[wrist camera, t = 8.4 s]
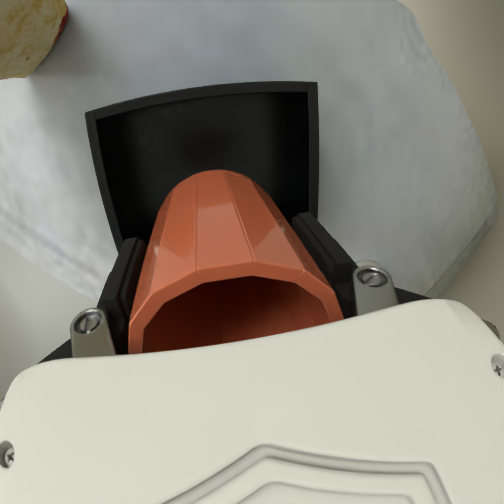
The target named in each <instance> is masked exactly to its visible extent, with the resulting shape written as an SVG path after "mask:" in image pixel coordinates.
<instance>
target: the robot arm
mask: <svg viewBox="0 0 504 504" xmlns="http://www.w3.org/2000/svg"><path fill="white" fill-rule="evenodd" d="M292 229H293V230H294V232H295V233H296V235H297V236H298V238H299V239H300V240H301V242H302V243H303V245H304V246H305V248H306V249H307V251H308V252H309V254H310V255H311V257H312V258H313V260H314V261H315V263H316V264H317V266H318V267H319V269H320V270H321V272H322V273H323V275H324V276H325V278H326V279H327V281H328V282H329V284H330V286H331V287H332V289H333V290H334V292H335V294H336V297H337V300H338V302H339V305H340V308H341V311H342V313H343V316H344V319H343V320H339V321H335V322H331V323H327V324H323V325H318V326H314V327H309V328H305V329H300V330H296V331H291V332H286V333H281V334H276V335H271V336H266V337H261V338H255V339H249V340H244V341H238V342H231V343H225V344H218V345H211V346H204V347H197V348H189V349H180V350H171V351H161V352H151V353H140V354H129V353H128V333H129V321H130V317H131V312H132V307H133V303H134V299H135V294H136V290H137V286H138V282H139V278H140V274H141V270H142V266H143V263H144V259H145V255H146V252H147V249H146V245H145V242H144V240H140V239H139V237H135V238H129V239H125V241H124V243H123V246H122V248H121V250H120V252H119V255H118V257H117V260H116V262H115V264H114V267H113V269H112V272H110V274H109V276H108V278H107V281H106V283H105V286H104V289H103V291H102V294H101V297H100V299H99V302H98V305H97V308H90V309H86V310H84V311H82V312H80V313H79V314H78V315H77V316H76V317H75V318H74V319H73V321H72V323H71V326H70V334H71V338H70V339H69V340H68V341H66V342H65V343H64V344H62V345H61V346H60V347H58V348H57V349H56V350H55V351H53V352H52V353H51V354H50V355H48V356H47V357H45V358H44V359H43V360H42V361H40V362H39V363H38V364H37V365H34V366H32V367H29V368H28V369H26V370H24V371H22V372H21V373H20V374H18V375H17V376H16V378H15V379H14V380H13V382H12V384H11V386H10V387H9V390H8V392H7V394H6V396H5V397H4V398H3V399H2V400H0V504H504V345H503V344H502V343H501V341H500V335H499V331H498V329H497V328H496V326H494V325H493V324H492V323H490V322H488V321H485V320H482V319H480V318H479V317H478V316H477V315H476V314H475V313H474V312H472V311H471V310H470V309H469V308H468V307H466V306H465V305H463V304H462V303H460V302H457V301H453V300H447V299H432V298H428V297H425V296H422V295H419V294H415V293H412V292H409V291H406V290H402V289H399V288H396V287H394V285H393V282H392V279H391V276H390V275H389V273H387V272H386V271H385V270H383V269H382V268H379V267H376V266H370V265H368V266H361V267H358V266H357V264H356V263H355V262H354V261H353V260H352V259H351V257H350V256H349V255H348V254H347V253H346V252H345V250H344V249H343V248H342V247H341V246H340V245H339V243H338V242H337V241H336V240H335V239H334V238H333V237H332V236H331V235H330V234H329V233H328V232H327V231H326V230H325V228H324V227H323V226H322V225H321V224H320V223H319V222H318V221H317V220H316V218H315V217H314V216H313V215H312V214H311V213H310V212H307V213H298V214H296V217H293V218H292Z"/></svg>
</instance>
